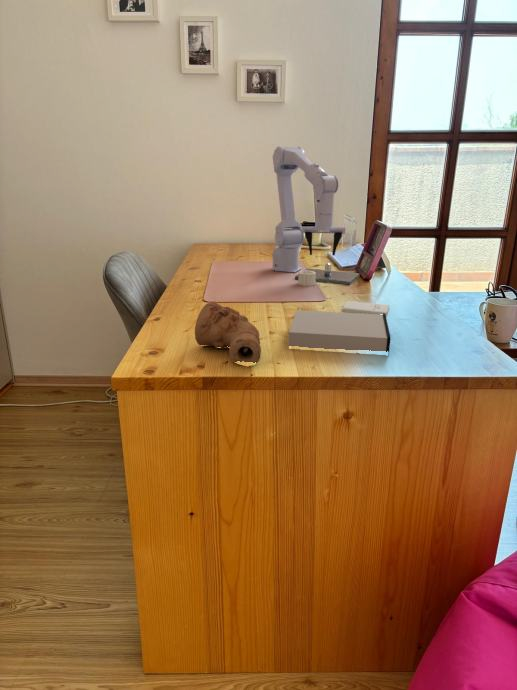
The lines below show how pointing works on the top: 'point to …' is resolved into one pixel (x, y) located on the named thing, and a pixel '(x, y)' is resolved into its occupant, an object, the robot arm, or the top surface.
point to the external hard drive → (365, 308)
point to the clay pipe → (228, 332)
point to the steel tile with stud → (333, 275)
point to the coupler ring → (307, 278)
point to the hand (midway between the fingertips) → (322, 254)
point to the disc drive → (339, 331)
